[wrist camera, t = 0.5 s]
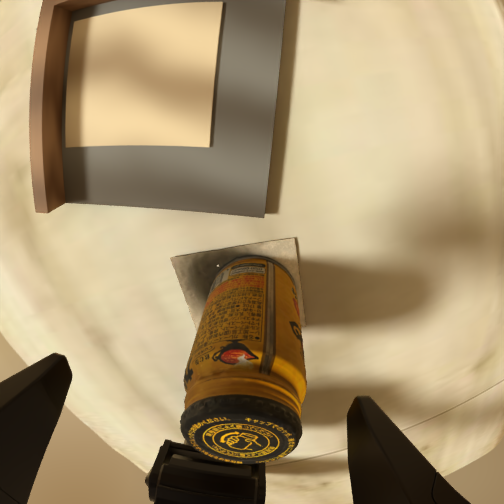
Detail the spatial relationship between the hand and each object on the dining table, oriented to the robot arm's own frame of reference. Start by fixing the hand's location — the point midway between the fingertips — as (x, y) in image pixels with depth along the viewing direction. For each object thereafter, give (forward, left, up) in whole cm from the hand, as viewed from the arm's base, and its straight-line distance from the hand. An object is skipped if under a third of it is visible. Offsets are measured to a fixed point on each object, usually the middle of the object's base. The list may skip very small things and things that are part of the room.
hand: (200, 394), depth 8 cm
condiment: (-5, 0, -13) cm, 14 cm away
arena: (+8, +6, -13) cm, 16 cm away
